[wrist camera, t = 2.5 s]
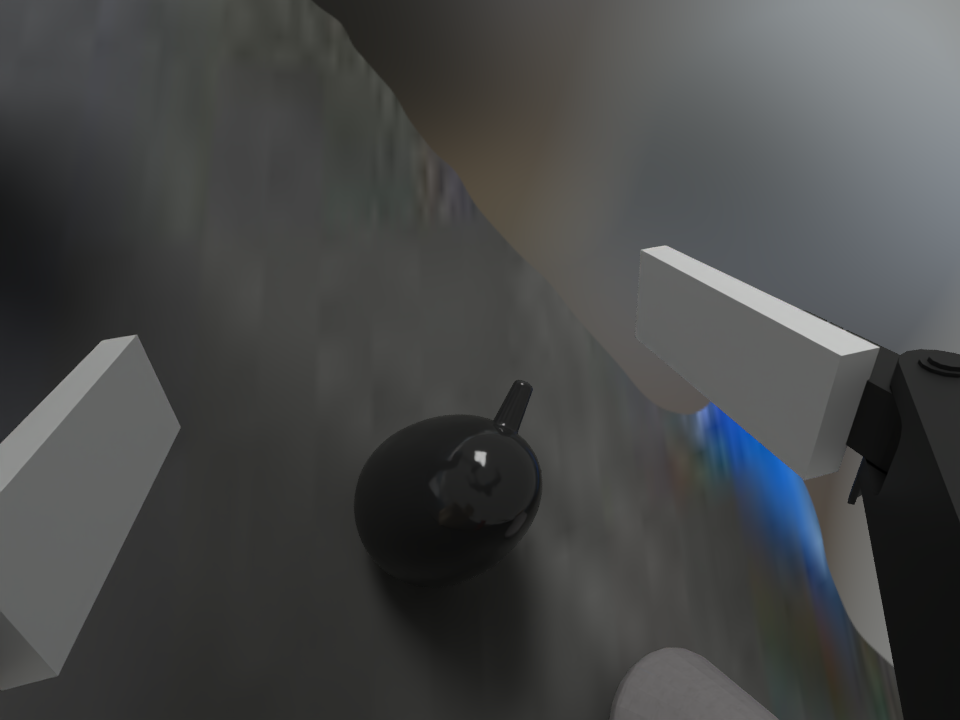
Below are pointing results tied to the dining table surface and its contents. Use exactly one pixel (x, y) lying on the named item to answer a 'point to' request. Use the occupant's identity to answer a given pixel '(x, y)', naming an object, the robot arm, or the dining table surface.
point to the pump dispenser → (449, 495)
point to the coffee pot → (682, 691)
